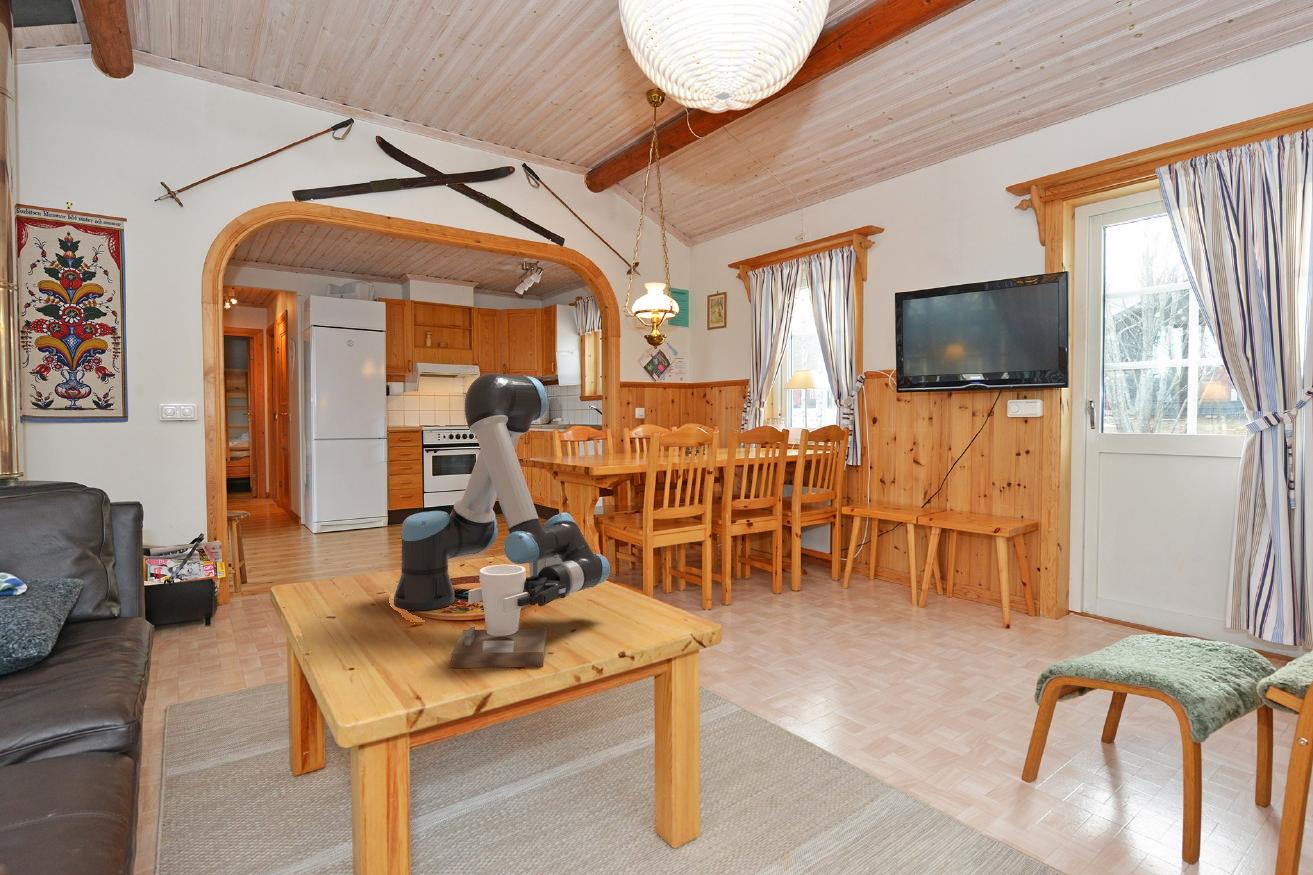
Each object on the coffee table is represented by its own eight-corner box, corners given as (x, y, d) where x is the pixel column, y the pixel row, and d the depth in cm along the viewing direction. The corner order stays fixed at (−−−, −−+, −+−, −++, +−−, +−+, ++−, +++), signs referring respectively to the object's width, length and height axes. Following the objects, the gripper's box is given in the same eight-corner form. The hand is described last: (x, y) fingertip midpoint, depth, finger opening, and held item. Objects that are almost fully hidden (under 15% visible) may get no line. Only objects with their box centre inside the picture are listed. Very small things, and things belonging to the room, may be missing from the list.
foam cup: (533, 631, 144) (534, 570, 143) (496, 641, 137) (497, 577, 136) (506, 621, 150) (507, 562, 150) (470, 630, 143) (470, 569, 143)
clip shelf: (451, 668, 136) (451, 643, 135) (463, 643, 150) (463, 620, 150) (543, 666, 138) (543, 642, 138) (546, 642, 152) (546, 620, 152)
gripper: (596, 604, 152) (525, 629, 134) (524, 588, 165) (450, 609, 146) (597, 570, 152) (526, 592, 133) (525, 557, 164) (450, 575, 146)
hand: (486, 601), depth 140 cm, fingers closed on foam cup, 9 cm apart
